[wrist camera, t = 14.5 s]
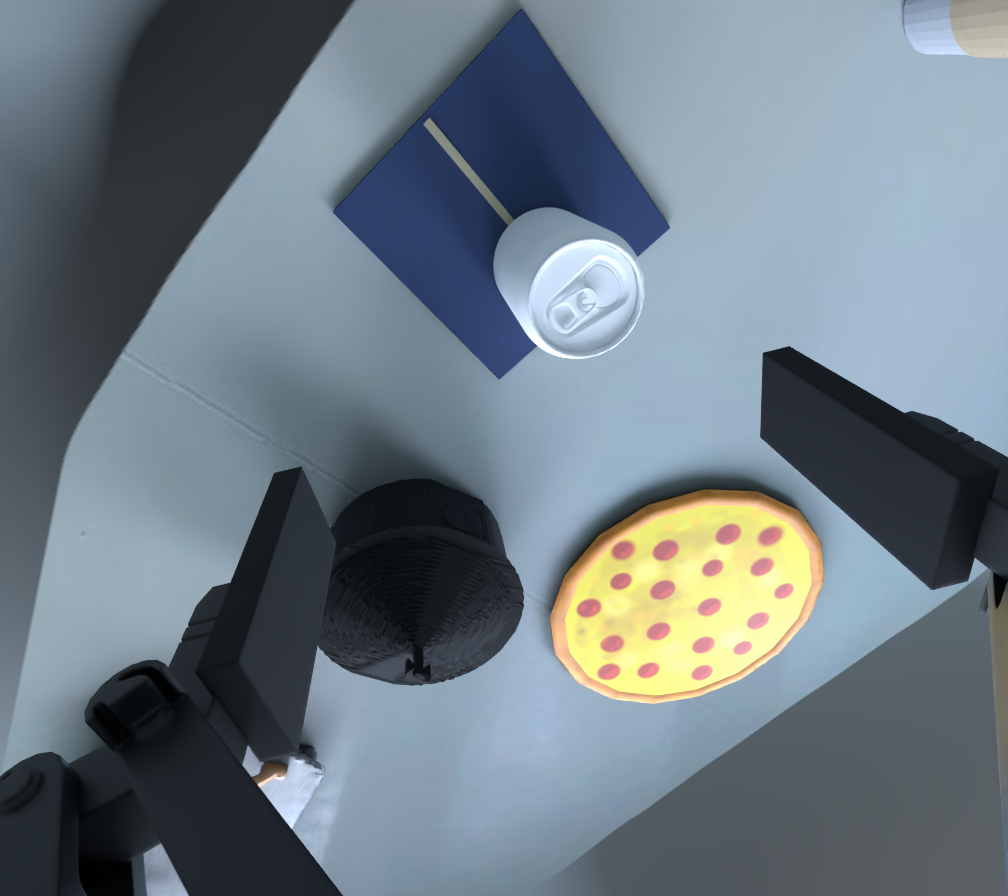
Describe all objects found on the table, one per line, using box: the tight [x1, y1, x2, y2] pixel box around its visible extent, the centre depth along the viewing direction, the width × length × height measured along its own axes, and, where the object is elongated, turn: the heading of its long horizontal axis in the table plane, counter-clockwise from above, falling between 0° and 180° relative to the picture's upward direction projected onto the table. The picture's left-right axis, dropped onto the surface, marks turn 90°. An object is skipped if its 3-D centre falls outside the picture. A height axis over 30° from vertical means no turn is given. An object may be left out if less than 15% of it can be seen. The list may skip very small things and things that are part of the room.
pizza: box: [550, 489, 824, 703], centre depth 65 cm, size 32×32×1 cm
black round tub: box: [318, 479, 524, 686], centre depth 51 cm, size 18×18×15 cm
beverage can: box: [493, 207, 644, 358], centre depth 39 cm, size 8×8×12 cm
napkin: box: [333, 9, 670, 379], centre depth 43 cm, size 18×18×1 cm
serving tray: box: [143, 746, 325, 896], centre depth 69 cm, size 39×23×6 cm, turn 151°
